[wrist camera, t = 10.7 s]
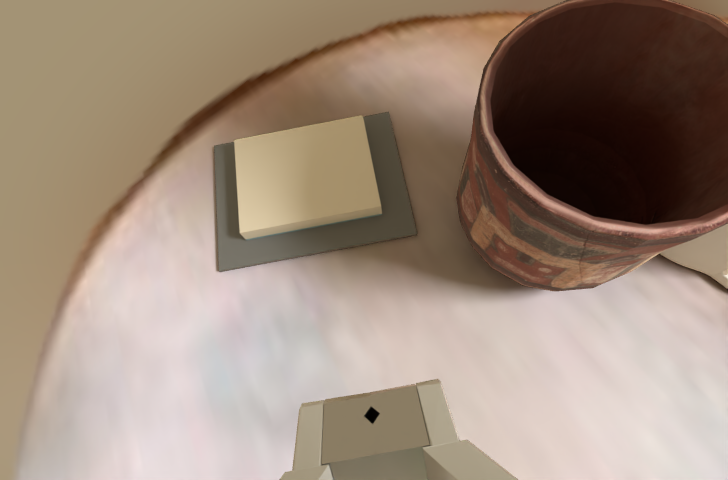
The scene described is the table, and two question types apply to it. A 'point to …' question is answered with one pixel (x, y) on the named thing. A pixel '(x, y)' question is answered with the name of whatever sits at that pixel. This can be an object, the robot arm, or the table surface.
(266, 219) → the tile
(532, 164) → the pottery
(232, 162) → the mat
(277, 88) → the table surface
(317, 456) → the robot arm
